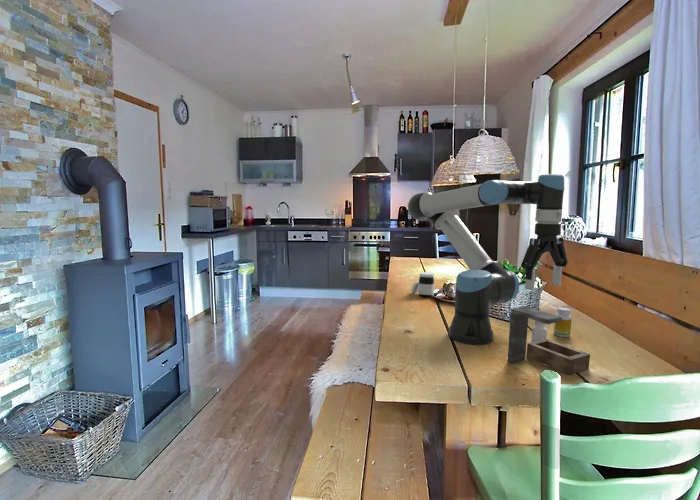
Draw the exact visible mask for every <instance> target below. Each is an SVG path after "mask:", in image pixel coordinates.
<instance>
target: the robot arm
mask: <svg viewBox="0 0 700 500" xmlns="http://www.w3.org/2000/svg"><path fill="white" fill-rule="evenodd" d="M564 193H565V176H564V175H562V174H561V173H560V174H558V173H557V174H556V173H552V174H551V173H549V174H548V173H547V174H546V173H545V174H541V175H539V176H538V179H537V180H536V181H517V180H516V181H514V180H501V179H491V180H490V179H489V180H486V181H484V182H483V183H479V184H474V185H470V186H464V187H460V188H455V189H451V190H445V191H444V190H443V191H441V192H436V193H435V192H429V191H427V192H420V193H416V194H414V195H413V196H411V198H410V199H409V201H408V203H407V210H408V213H409V215H410V216H411V217H412V218H413V219H415V220H417V221H419V222H431V224H432V225H433V226H434V228H435V229H436V230H441V231H442V233H443V235H445V237H446V238H447V239H448V241H449V243H450V244H451V245H452V247H453V248H454V249H455V251H456V252H457V253H458V255H459V256H460V258H461V259H462V261H463V262H464V263H465V265H466V266H467V267H468V269H469V270H464V271H461V272H459V273H458V274H457V276H456V281H455V293H454V295H455V296H454V297H455V298H454V299H455V300H454V315H453V317H452V320H451V323H450V326H449V328H448V337H449V338H451V339H452V340H453V341H456V342H459V343H464V344H467V345H468V344H469V345H487V344H491V343H492V342H493V341H494V331H493V330H492V325H491V321H490V309H491V308H490V307H491V306H494V305H498V304H499V305H500V304H504V303H508V302H510V301H512V300H514V299H515V298H516V297H517V296H518V294H519V292H520V281H519V278H518V276H517V275H516V274H515V273H514V272H513V271H511V270H509V269H504V268H503V266H502V265H501V264H500V262H499V261H497V260H496V261H495V260H493V259H492V258H491V257H490V256H489V255H488V254H487V252H486V251H485V250H484V248H483V247H482V246H481V244H480V243H479V242H478V240H477V239H476V238H475V237H474V235H473V233H472V232H471V231H470V230H469V228H468V227H467V226H466V225H465V224H464V222H463V221H462V220H461V218H460V213H461V212H460V210H466V209H472V208H480V207H485V206H487V207H489V206H495V205H501V204H502V205H505V204H506V205H536V206H535V208H536V210H535V218H534V220H535V222H536V223H535V224H534V234H535V236H536V237H537V238H534V237H533V238H532V237H530V239H529V243H528V247H527V249H526V251H525V255H524V257H523V259H522V262H521V264H520V267H521V268H522V269H524V270H525V275H524V276H525V283H524V284H525V285H524V289H525V290H531V291H534V290H535V283H536V281H535V280H536V269H535V267H536V266H537V264H538V263H539V261H540V258H541V257H542V256H543V254H545V253H549V255H550V257H551V259H552V260H553V263H554V265H553V267H552V278H551V285H552V286H557V287H561V286H562V275H563V268H564V267H565V268H566V267H567V264H568V258H567V254H566V250H565V246H564V237H562V236H561V231H562V230H561V229H562V224H561V222H562V215H563V203H564Z"/></svg>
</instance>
